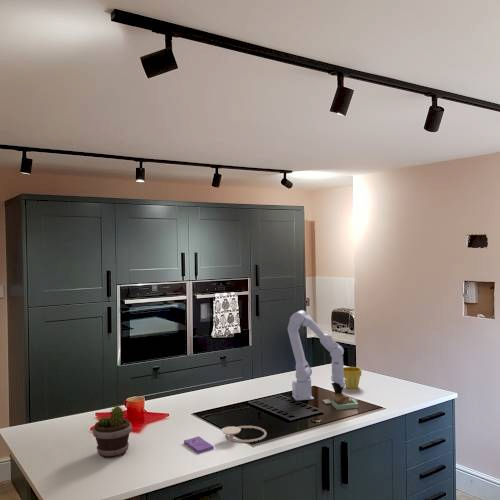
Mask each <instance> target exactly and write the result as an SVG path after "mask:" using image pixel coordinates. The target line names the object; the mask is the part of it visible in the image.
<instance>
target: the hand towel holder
mask: <svg viewBox="0 0 500 500" xmlns="http://www.w3.org/2000/svg"><path fill="white" fill-rule="evenodd" d="M242 428H243V429H253V428H254V429H255V430H259V431H261V432H263V435H262V436H260V437H258V438H254V439H253V438H252V439H239V438H234V435H237V434H240V432H241V430H242ZM254 429H253V430H254ZM220 431H221V432H222V434H224V435H225V437H226V438H227V439H228V441H230V442H232V441H233V442H236V443H255V442H259V441H261V440H264V439H265V438H266V437H267V435H268V434H267V431H266V430H265V429H264V428H262V427H259V426H254V425H239V426H234V425H233V426H225V427H223V428H221V429H220ZM258 440H259V441H258ZM254 441H255V442H254Z"/></svg>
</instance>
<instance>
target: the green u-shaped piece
mask: <svg viewBox="0 0 500 500" xmlns="http://www.w3.org/2000/svg"><path fill="white" fill-rule="evenodd" d="M321 402H322V403H323V404H324V405H325V406H326V405H331V406H333V408H335V410H337V411H338V410H347V409H349V410H350V409H358V408H359V403H358V400H357V399H356V398H354V397H353V396H352V397H349V404H341V405H338V404H337V403H335V402H334V401H333V399H332V400H330V399H329V398H328V399H322V400H321Z"/></svg>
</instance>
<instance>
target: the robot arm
mask: <svg viewBox="0 0 500 500" xmlns="http://www.w3.org/2000/svg"><path fill="white" fill-rule="evenodd" d="M301 326H302V327H307V328H309V329H310V330H311V331H312V332H313V333H314V334H315V336H317V337H318V338H319V342H320V344H321V345H322V346H323V347H324V348H325V349H326V351H328V352H329V355H330V357H331V376H330V378H331V381H332V382H331V386H332V388H333V391H334V394H337V393H343V389H345V388H346V386H345V381H346V379H345V378H344V371H343V368H344V356H343V355H344V352H345V350H344V348H343V346H342V345H340V343H338V342H337V341H336V340H335V339H333V336H332V335H330V334H329V333H325V332H324V331H323V330H322V329H321V327H320V326H319V325H318V324H317V323H316V321H315V320H314V319H313V318H312V316H311V315H310V314H308V313H307V311H306V310H303V309H301V310H297V311H296V312H294V313H293V314H292V315H291V316H290V318H289V322H288V325H287V333H288V336H289V341H290V345H291V349H292V352H293V356H294V360H295V379H296V380H294V381H292V383H291V387H292V389H291V390H292V395H291V396H292V397H293V399H294V400H295V401H306V400H307V401H308V400H309V401H310V400H315V397H313V396H312V379H311V376H312V375H313V374H312V373H313V371H312V368H311V367H310V365H309V362H308V361H307V360H306V356H305V351H304V348H303V344H302V340H301V337H300V332H299V330H300V328H301Z"/></svg>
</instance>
